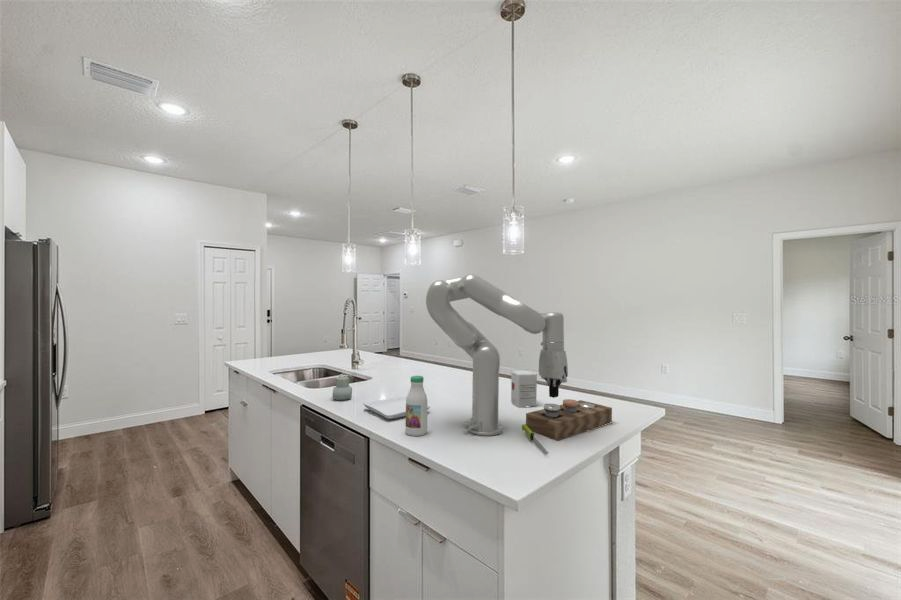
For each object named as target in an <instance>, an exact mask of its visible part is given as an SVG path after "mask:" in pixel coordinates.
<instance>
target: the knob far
mask: <svg viewBox="0 0 901 600" xmlns="http://www.w3.org/2000/svg"><path fill="white" fill-rule="evenodd" d="M580 407H583V408H587V409H592V408H595V405H594V404H590V403H580Z"/></svg>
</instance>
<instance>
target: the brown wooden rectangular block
mask: <svg viewBox="0 0 901 600" xmlns="http://www.w3.org/2000/svg"><path fill="white" fill-rule="evenodd" d="M577 401H578V407H577V413H574V414H571V413H568V412H564V405H563V404H558V405H559V406H560V411H559V418H555V419H552V418H549V417H545V410H544V408H542V409H538V410H534V411H530V412H525V424H526V425H527V426H528V427H529V429H530V430H531V431H532V432H533V433H534V434H537V435H540V436H543V437H545V438H548V439H551V440H553V441H558V442H559V441H561V440H564V439H568V438H571V437H573V435H574V436H576V434H577V435H579V434H578V433H580V434H582V432H583V433H585V431H586V432H588V431H587V430H589V431H592V430H594V428H595V429H597V428H596V427H598V428H600V427H599V426H601V427H603V426H602V425H604V426H606V425H605V424H607V423H610V422H612V423H613V421H612V420H613V407H611V406H606V405H602V404H598V403H593V402H590V401H586V400H583V399H580V400H577ZM580 403H590V404H594V405H595V408H592V409H587V408H583V407H580ZM610 424H611V423H610ZM607 425H608V424H607ZM591 429H592V430H591Z"/></svg>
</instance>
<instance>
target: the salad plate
mask: <svg viewBox="0 0 901 600" xmlns="http://www.w3.org/2000/svg"><path fill="white" fill-rule="evenodd" d="M406 399H407V396H399V397H393V398H386V399H380V400H374V401H369V402H363V406H364V407H365V408H366V409H368V410H369V411H371V412H373V413H375V414H377V415H379V416H381V417H384V418H386V419H388V420H395V419H400V418H406ZM430 408H431V405H428V404H427V411H429V409H430Z"/></svg>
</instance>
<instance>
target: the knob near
mask: <svg viewBox="0 0 901 600" xmlns="http://www.w3.org/2000/svg"><path fill="white" fill-rule="evenodd" d="M559 405H560V404H556V403H545V404H543V409H544V410H545V417H549V418H552V419H555V418H559V411H560V406H559Z"/></svg>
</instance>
